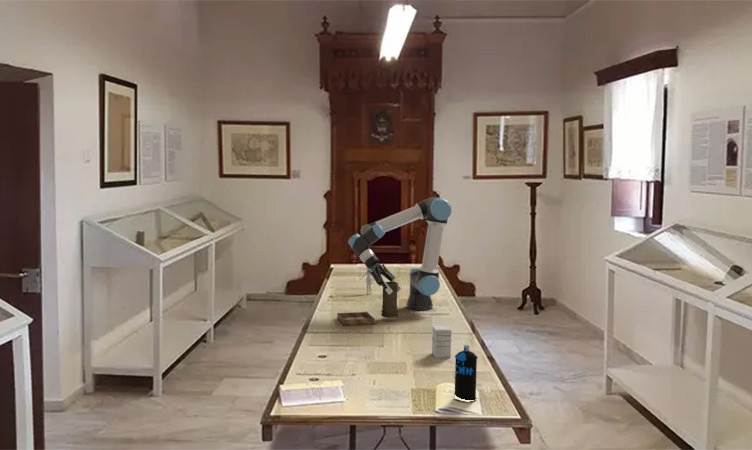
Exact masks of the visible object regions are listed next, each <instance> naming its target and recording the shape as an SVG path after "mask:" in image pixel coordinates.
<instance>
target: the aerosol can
mask: <svg viewBox="0 0 752 450" xmlns="http://www.w3.org/2000/svg"><path fill="white" fill-rule="evenodd" d="M478 357H479V356H477V355H476V354H475V353H474V352H473V351H470V345H469V344H463V350H461V351H458V352H457V354H455V356H454V358H455V364H454V365H455V368H454V370H455V373H454V396H455V395H456V396H457V397H459V398H461V399H465V400H475V399H476V400H477V395H476V393H477V367H478V365H477V363H478V361H477V360H478ZM476 400H475V401H476Z"/></svg>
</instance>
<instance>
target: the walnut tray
mask: <svg viewBox="0 0 752 450" xmlns="http://www.w3.org/2000/svg"><path fill="white" fill-rule="evenodd" d="M336 316H337V317H336V319H337V320H338V322H339V323H340V324H341V325H342V326H343V327H348V326H349V327H350V326H351V327H352V326H368V325H371V326H373V325H376V318H375V317H374V316H373V315H371V313H369V312H368V311H355V312H353V311H352V312H338V313H336Z"/></svg>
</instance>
